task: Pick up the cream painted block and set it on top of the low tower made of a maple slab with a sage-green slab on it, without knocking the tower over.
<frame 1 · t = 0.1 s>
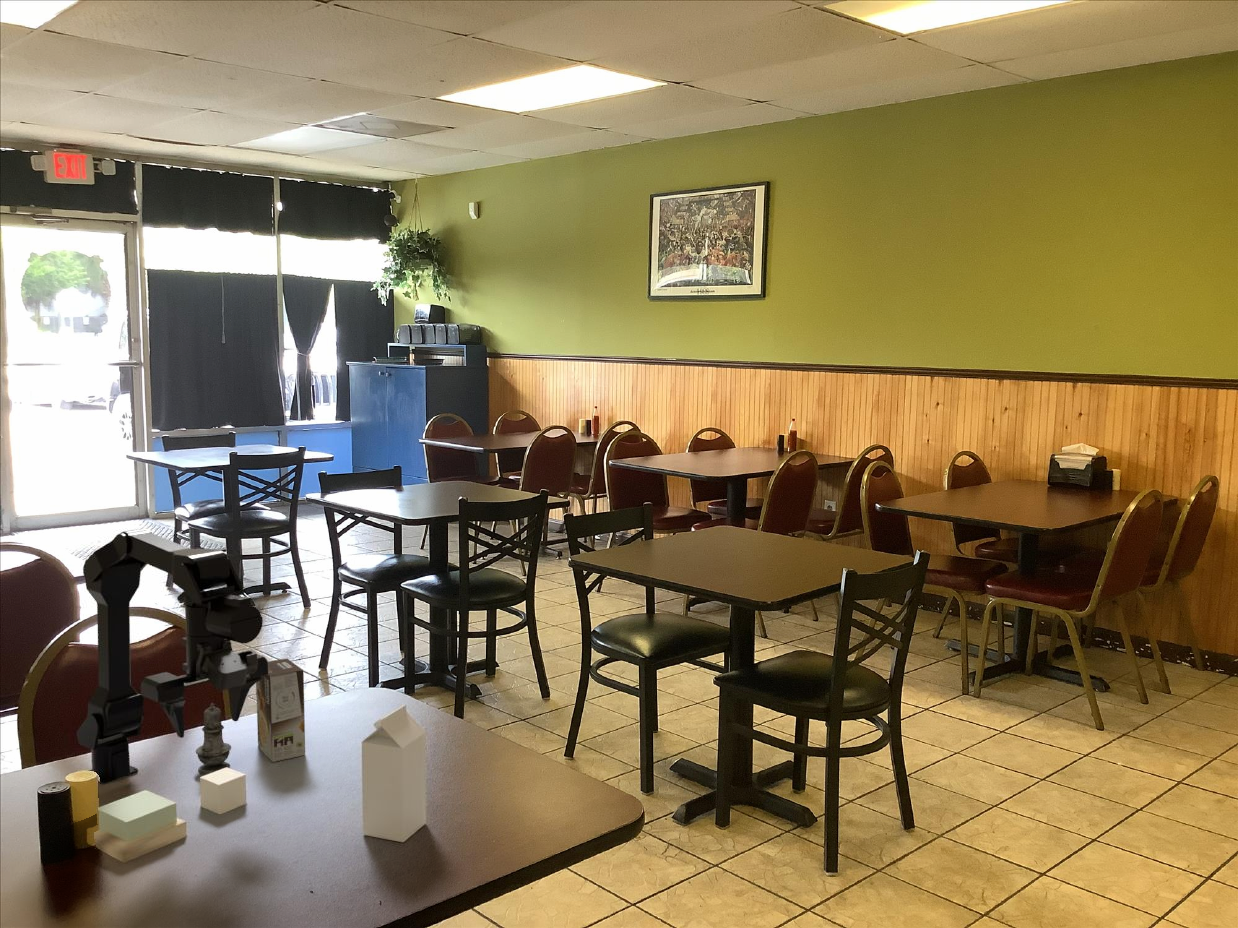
hand: (208, 728, 164), 14 cm above the table, tool pointing down, fingers open, 9 cm apart
sage slab: (137, 824, 158), point 2 cm above the table, touching maple slab
milk carton: (395, 830, 162), on the table
maple slab: (137, 843, 158), on the table, touching sage slab
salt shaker: (214, 769, 185), on the table
coffee box: (281, 751, 193), on the table
cream block: (223, 805, 170), on the table
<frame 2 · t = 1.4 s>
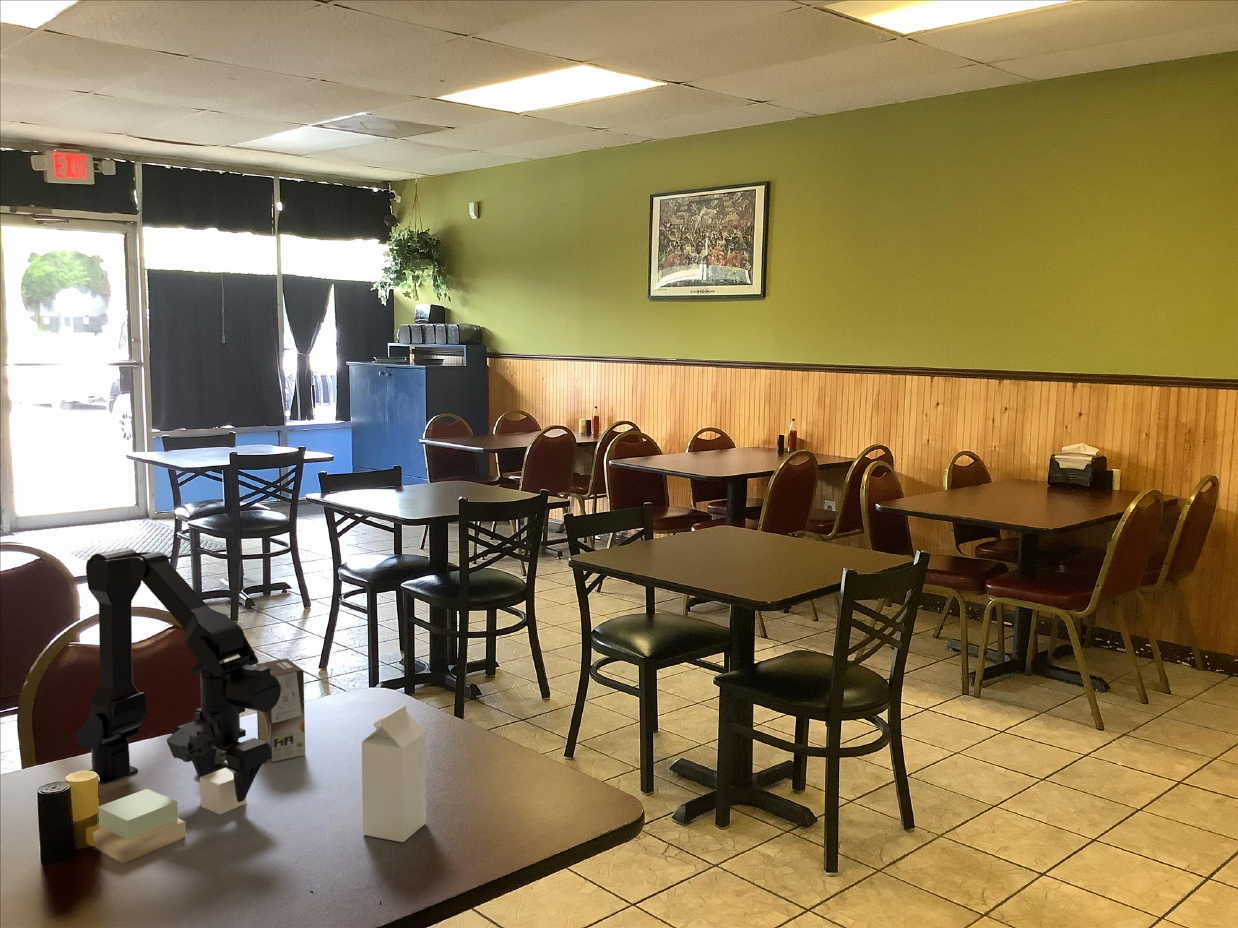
hand: (223, 793, 170), 2 cm above the table, tool pointing down, fingers open, 9 cm apart
nothing on the table moved.
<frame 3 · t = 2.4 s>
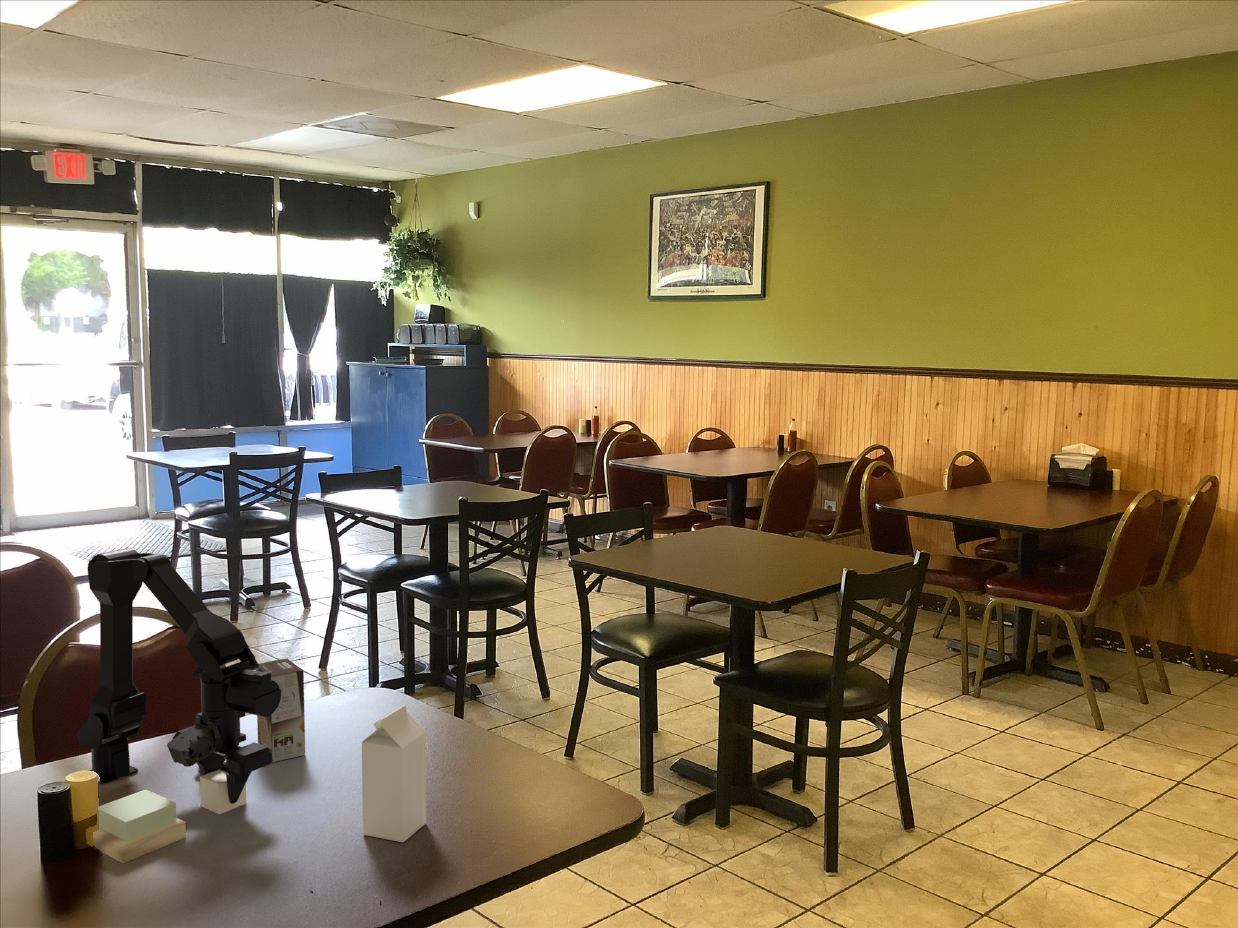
hand: (223, 798, 170), 1 cm above the table, tool pointing down, fingers closed on cream block, 5 cm apart
cream block: (223, 804, 170), on the table, touching gripper
everything else where it was.
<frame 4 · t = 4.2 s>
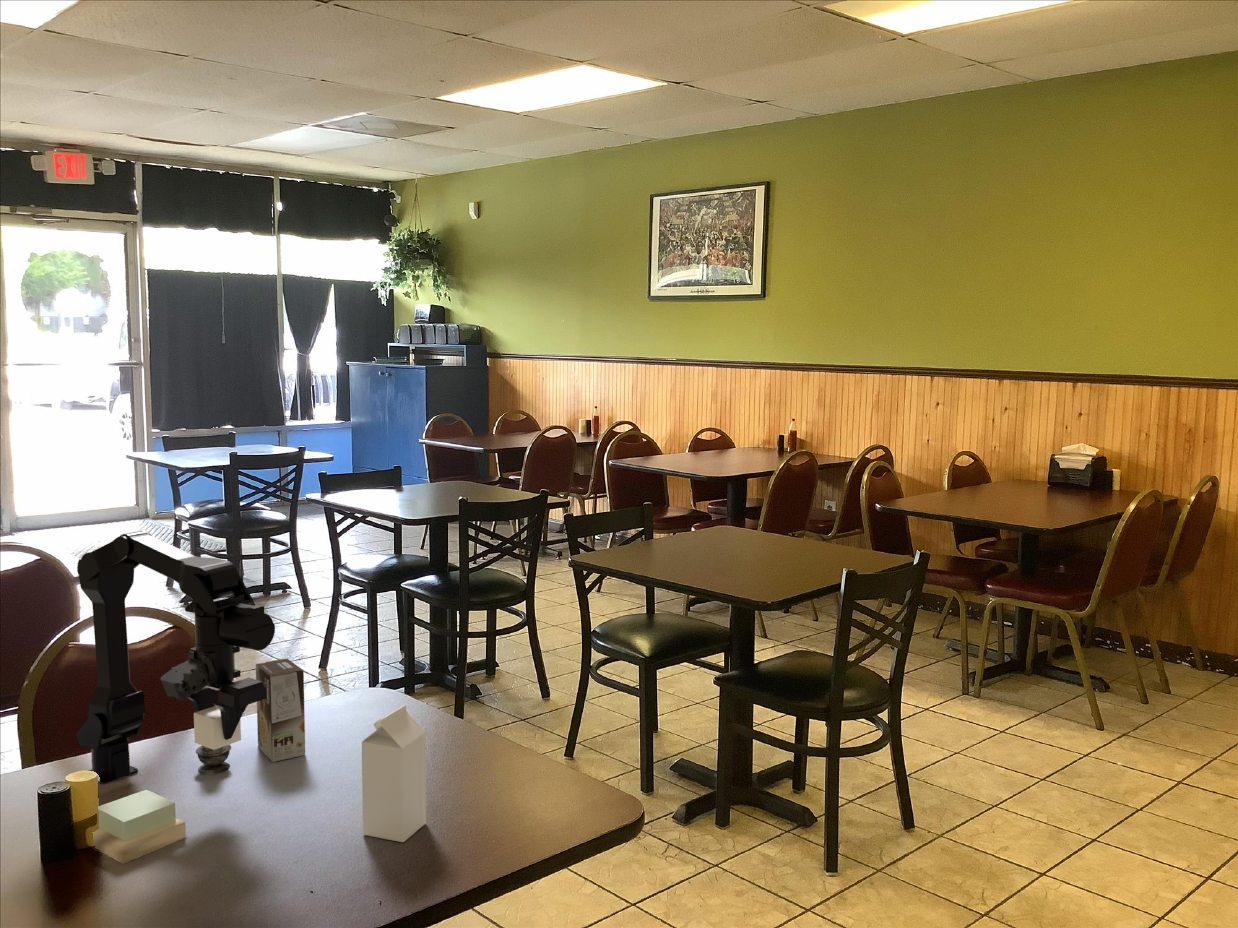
hand: (217, 735, 168), 12 cm above the table, tool pointing down, fingers closed on cream block, 5 cm apart
cream block: (217, 741, 168), point 11 cm above the table, touching gripper
everything else where it was.
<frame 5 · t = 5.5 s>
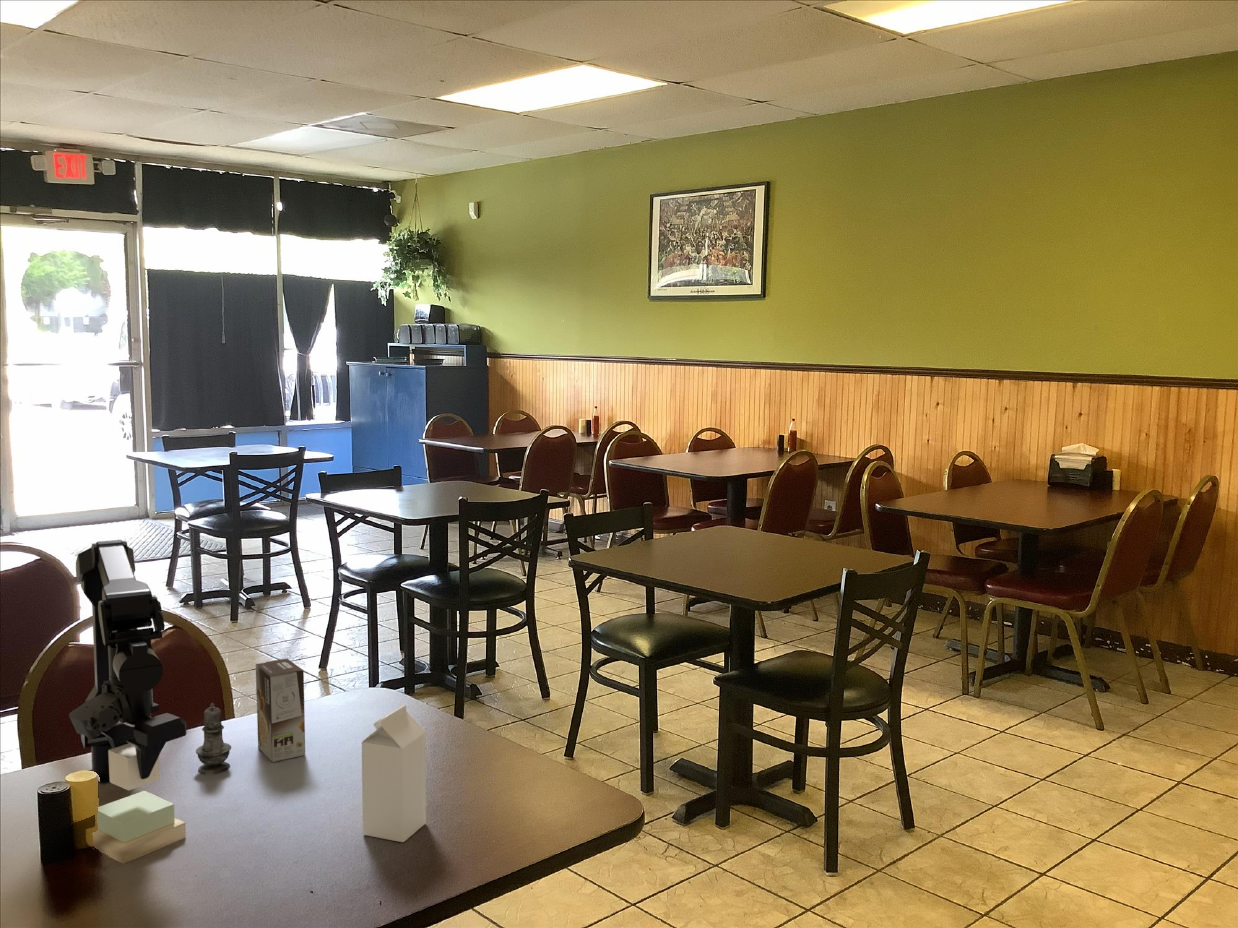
hand: (134, 773, 157), 10 cm above the table, tool pointing down, fingers closed on cream block, 5 cm apart
sage slab: (135, 825, 157), point 2 cm above the table
maple slab: (136, 844, 158), on the table
cream block: (135, 780, 157), point 9 cm above the table, touching gripper
everything else where it was.
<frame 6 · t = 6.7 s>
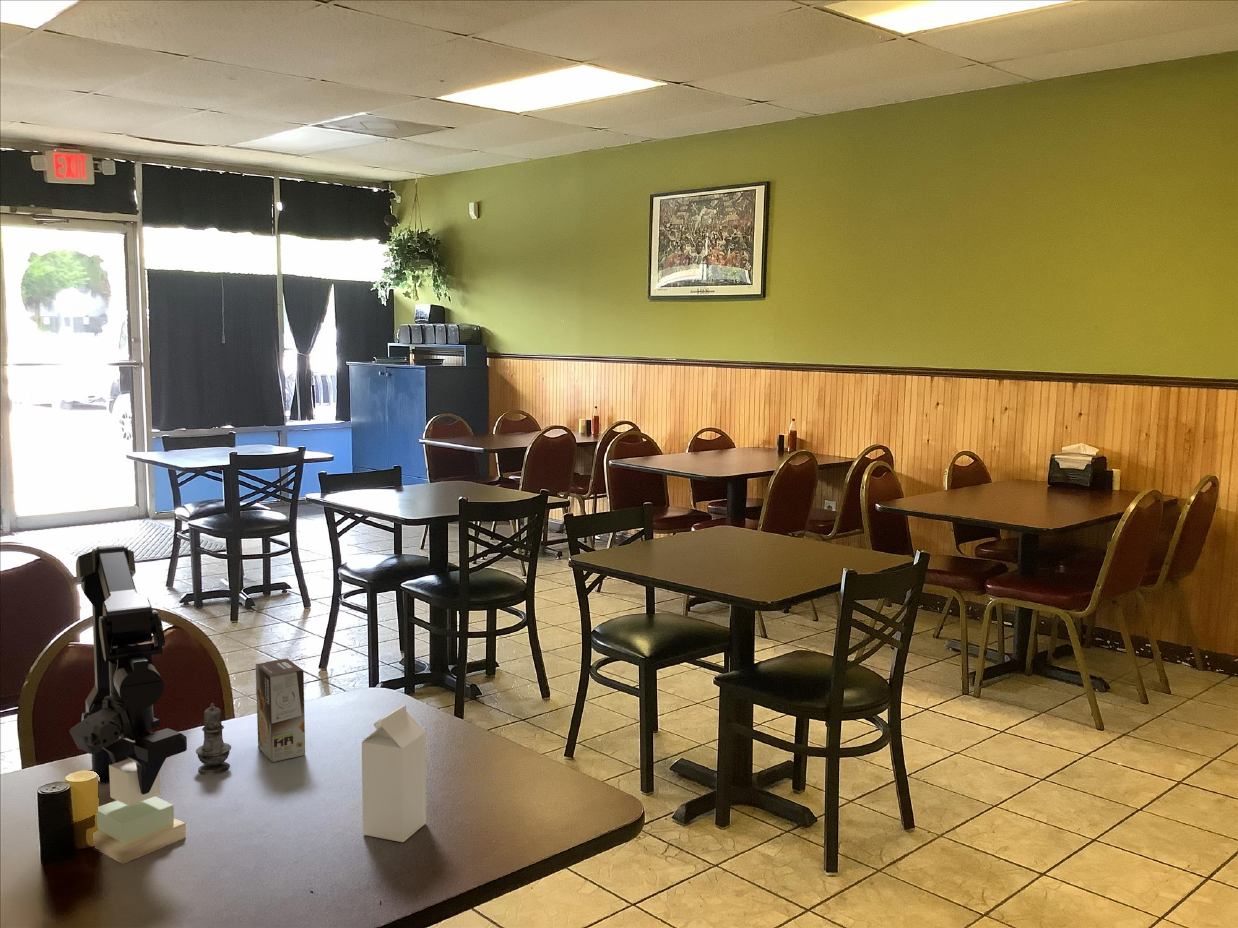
hand: (135, 788, 157), 8 cm above the table, tool pointing down, fingers closed on cream block, 5 cm apart
sage slab: (134, 825, 157), point 2 cm above the table, touching maple slab
maple slab: (136, 844, 158), on the table, touching sage slab
cream block: (135, 795, 157), point 7 cm above the table, touching gripper
everything else where it was.
when the fingers open (8 cm above the table, at t = 6.7 s): cream block drops 2 cm, resting on sage slab.
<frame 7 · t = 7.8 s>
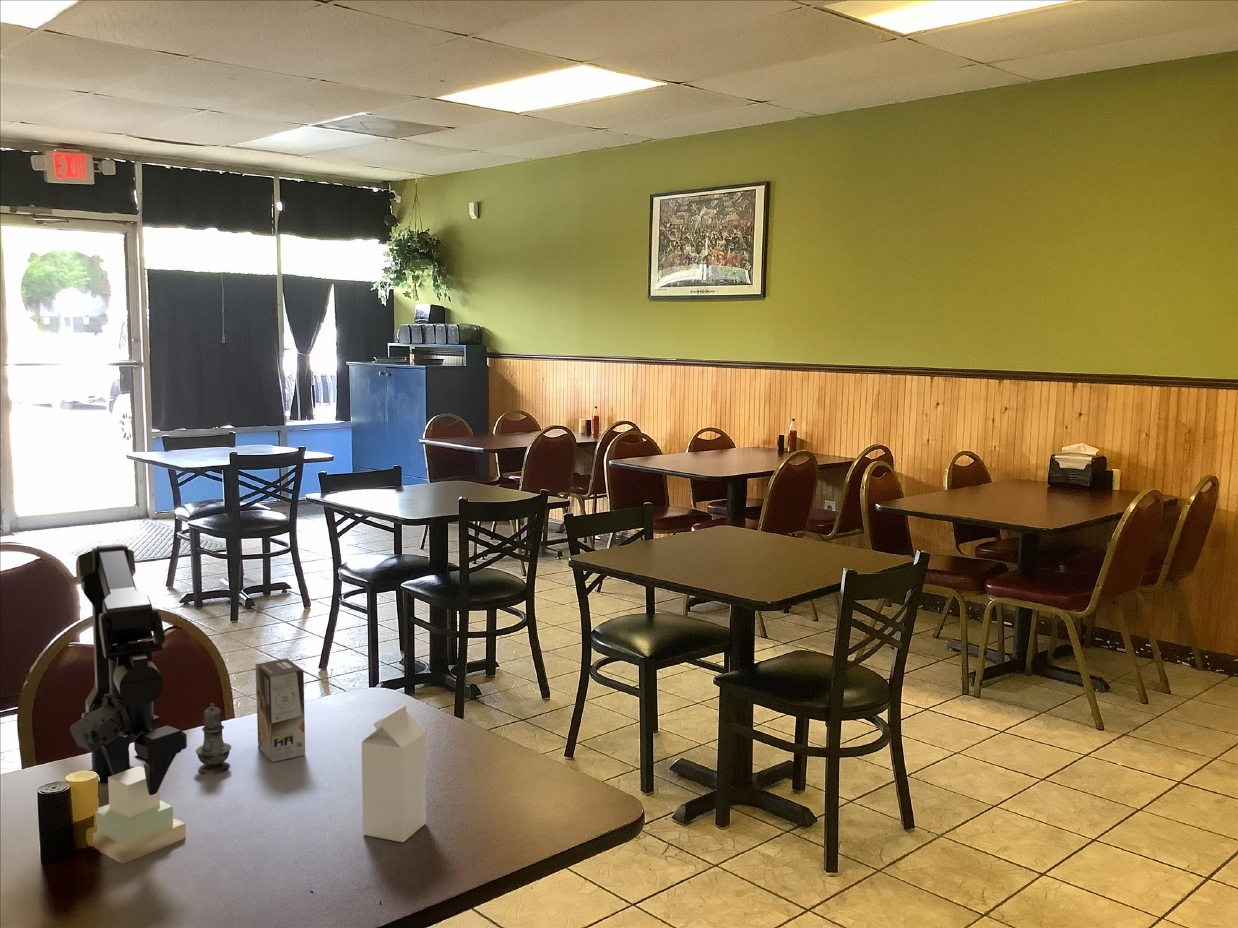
hand: (135, 786, 157), 8 cm above the table, tool pointing down, fingers open, 9 cm apart
sage slab: (133, 826, 157), point 2 cm above the table, touching cream block, maple slab
cream block: (134, 806, 157), point 5 cm above the table, touching sage slab
everything else where it was.
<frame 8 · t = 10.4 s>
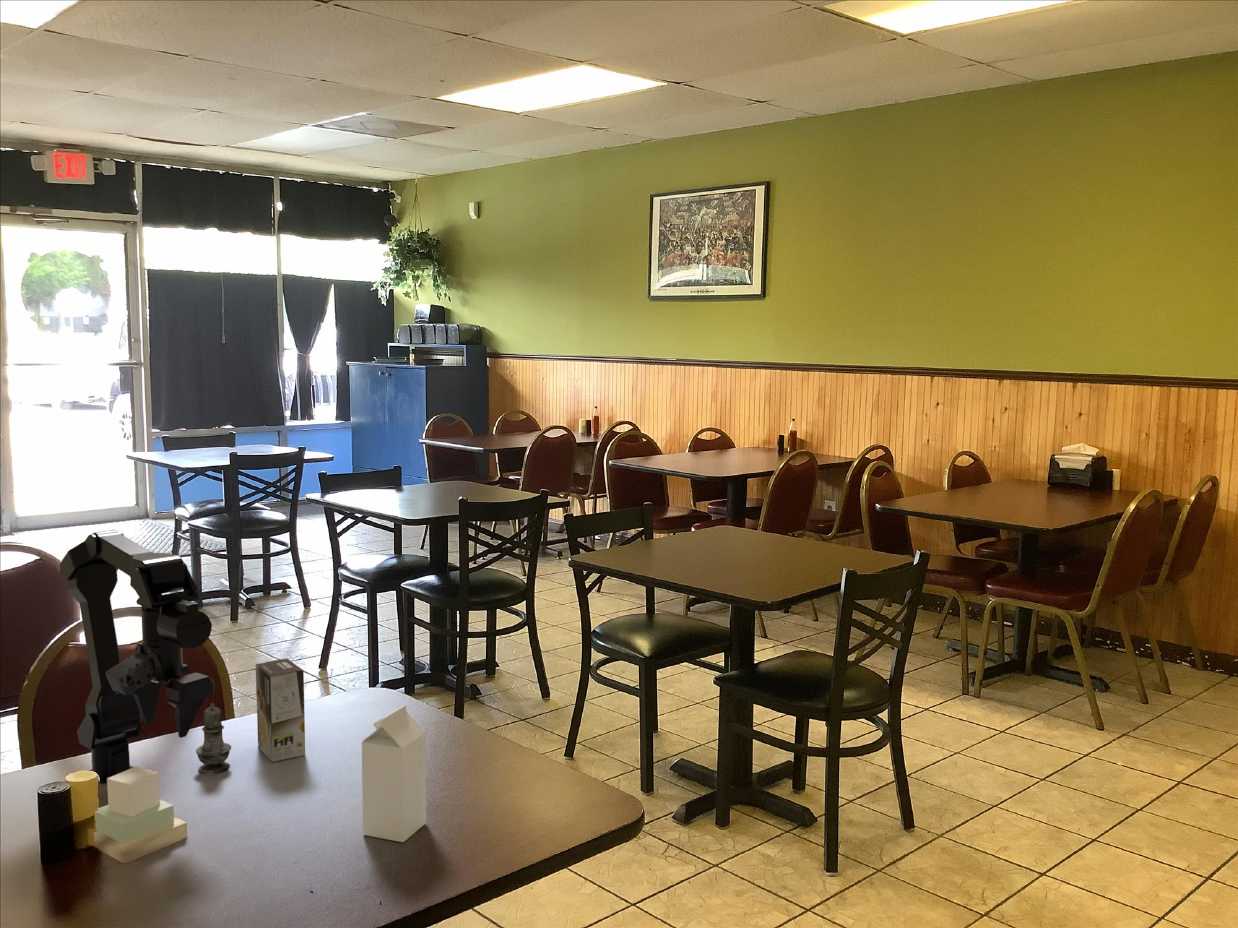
hand: (165, 730, 167), 13 cm above the table, tool pointing down, fingers open, 9 cm apart
sage slab: (134, 826, 157), point 2 cm above the table, touching maple slab
cream block: (134, 807, 157), point 5 cm above the table
everything else where it was.
at the end: cream block 0.1 cm off-centre on the sage slab, point 3.0 cm above the sage slab's base; cream block tilted 0°; sage slab 0.4 cm off-centre on the maple slab, point 3.0 cm above the maple slab's base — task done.
